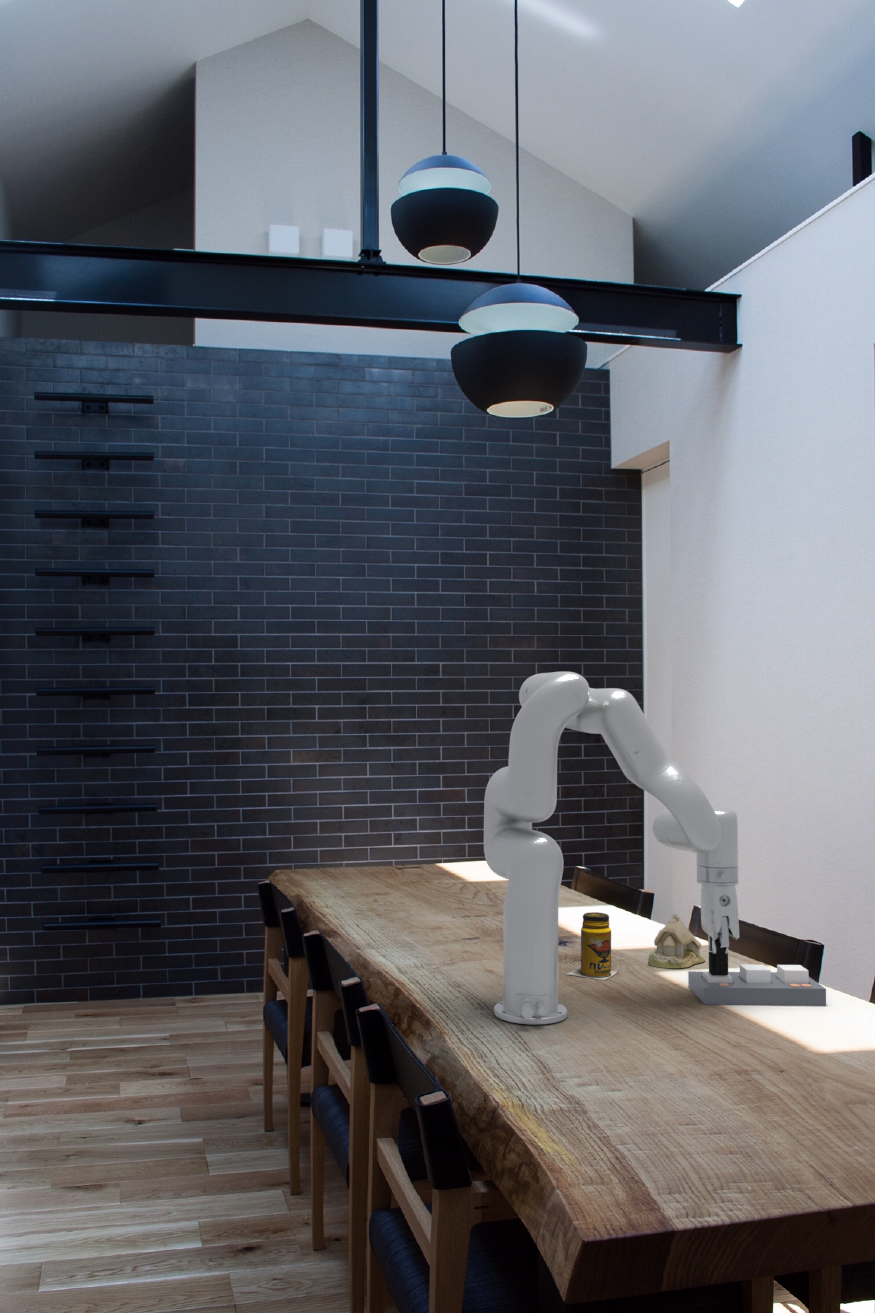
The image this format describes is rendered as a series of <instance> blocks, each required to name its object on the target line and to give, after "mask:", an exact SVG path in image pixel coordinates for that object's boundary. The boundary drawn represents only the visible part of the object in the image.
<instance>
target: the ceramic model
mask: <svg viewBox="0 0 875 1313" xmlns="http://www.w3.org/2000/svg"><path fill="white" fill-rule="evenodd" d="M653 943H654V944H653V945H654V946H656V948H655V949H654V950H653V951H650V954H649V955H648V958H647V959H648V960H647V961H648V964H649V966H651V967H654V968H663V969H683V968H690V967H691V966H692V965H696V964H700V963H703V962H705V961H706V958H705V957H703V956H702V955H700V949H702V943H701V942H700V941H699V940H698V939H697V938H696V937H695V936H694V934H693V933H692V932H691V931H690V929H688V927H687V926H686V924H685V923H684V922H683V921H682V919H681V917H680V915H679V914H677V913H673V914H672V915H671V919H670V920H669V921H668V922H667V924H666V925H665V926H664V927H662V928H661V929H660V930H659V931H658V933H657V935H656V936H655V939H654V942H653Z"/></svg>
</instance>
